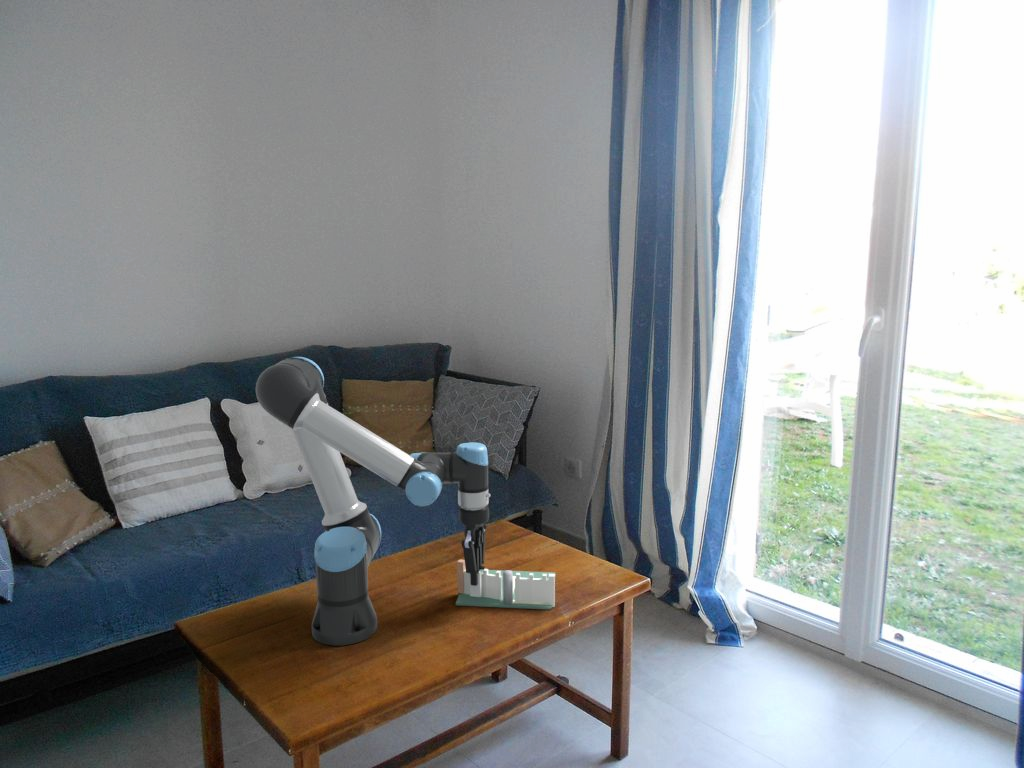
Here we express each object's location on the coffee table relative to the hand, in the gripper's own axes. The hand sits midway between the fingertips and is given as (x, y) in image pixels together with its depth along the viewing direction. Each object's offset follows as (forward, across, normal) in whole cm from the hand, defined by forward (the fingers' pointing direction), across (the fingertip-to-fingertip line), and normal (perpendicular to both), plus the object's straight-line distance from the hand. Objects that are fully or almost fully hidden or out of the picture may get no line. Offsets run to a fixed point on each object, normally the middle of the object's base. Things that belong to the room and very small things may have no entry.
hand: (475, 595), depth 188 cm
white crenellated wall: (+1, +3, 0) cm, 3 cm away
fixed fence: (+2, +3, -13) cm, 13 cm away
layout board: (+2, +10, -6) cm, 11 cm away
